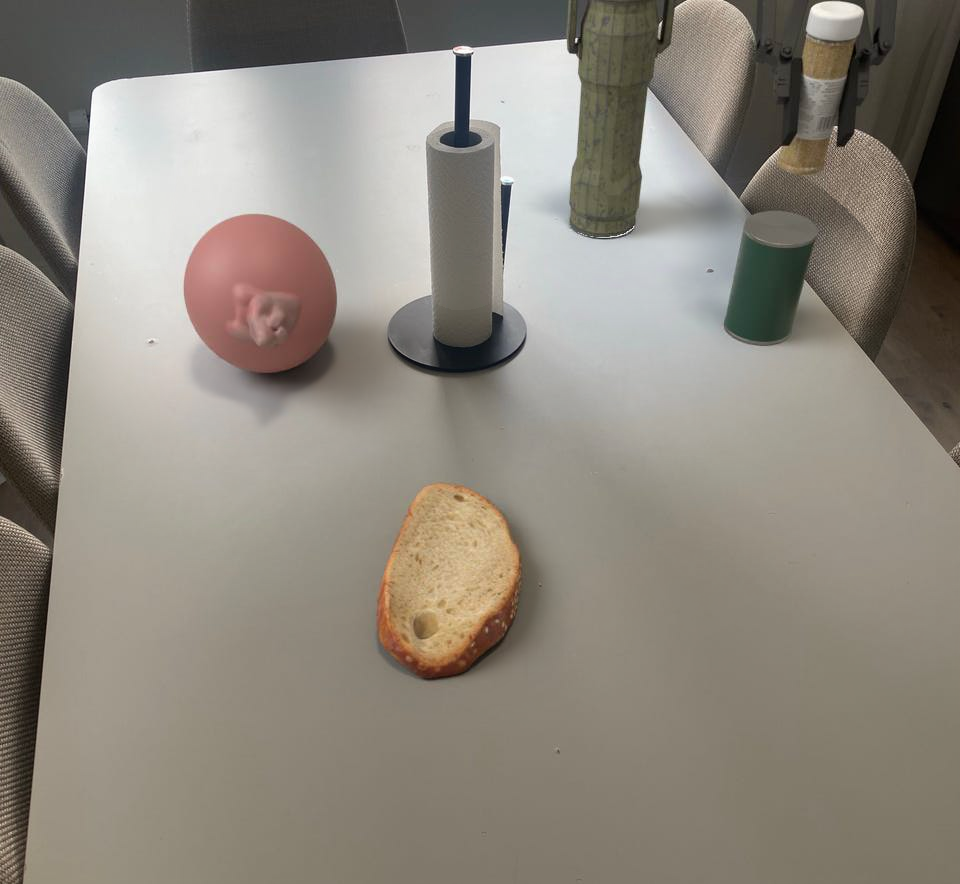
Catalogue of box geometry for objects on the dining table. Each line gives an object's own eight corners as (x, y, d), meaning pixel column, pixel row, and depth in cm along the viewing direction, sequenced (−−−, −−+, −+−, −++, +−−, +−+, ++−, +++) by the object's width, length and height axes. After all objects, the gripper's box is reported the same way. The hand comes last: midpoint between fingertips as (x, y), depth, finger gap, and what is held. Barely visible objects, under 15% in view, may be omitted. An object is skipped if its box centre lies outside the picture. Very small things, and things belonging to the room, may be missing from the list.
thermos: (656, 235, 121) (701, -106, 95) (566, 243, 120) (586, -100, 93) (637, 204, 127) (675, -126, 100) (551, 211, 126) (567, -120, 99)
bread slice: (451, 484, 89) (450, 452, 86) (590, 584, 80) (594, 552, 78) (295, 576, 81) (288, 544, 78) (430, 698, 73) (428, 667, 70)
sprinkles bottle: (809, 155, 94) (848, -3, 84) (832, 174, 91) (875, 13, 81) (767, 160, 93) (801, 1, 83) (788, 179, 90) (827, 18, 80)
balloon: (196, 435, 94) (155, 292, 83) (206, 328, 107) (172, 192, 96) (350, 421, 96) (330, 279, 84) (342, 317, 109) (324, 182, 97)
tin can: (792, 314, 108) (818, 214, 100) (790, 349, 104) (817, 248, 95) (726, 306, 110) (746, 207, 101) (721, 340, 105) (741, 240, 96)
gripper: (916, -99, 88) (897, 159, 90) (728, -101, 89) (713, 155, 91) (952, -162, 81) (931, 122, 82) (746, -162, 81) (729, 118, 83)
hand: (817, 139), depth 87 cm, fingers closed on sprinkles bottle, 4 cm apart
